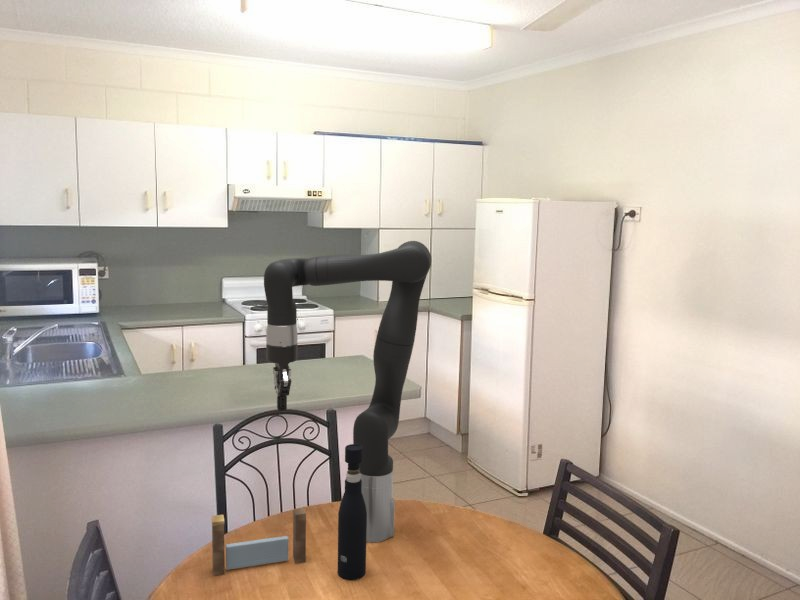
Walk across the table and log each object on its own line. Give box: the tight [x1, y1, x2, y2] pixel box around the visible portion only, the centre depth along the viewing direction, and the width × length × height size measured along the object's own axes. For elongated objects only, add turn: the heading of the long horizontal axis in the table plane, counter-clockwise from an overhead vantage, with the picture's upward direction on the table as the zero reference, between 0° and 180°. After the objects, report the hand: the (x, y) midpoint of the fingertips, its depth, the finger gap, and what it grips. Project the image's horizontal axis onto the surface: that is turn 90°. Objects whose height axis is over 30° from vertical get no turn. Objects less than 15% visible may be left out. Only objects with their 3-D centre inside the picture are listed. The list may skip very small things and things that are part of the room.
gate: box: [225, 535, 289, 570], centre depth 155 cm, size 14×1×6 cm, turn 109°
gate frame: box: [210, 507, 307, 577], centre depth 155 cm, size 21×3×13 cm, turn 109°
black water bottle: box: [337, 443, 367, 581], centre depth 152 cm, size 6×6×30 cm
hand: (281, 409), depth 168 cm, fingers closed
